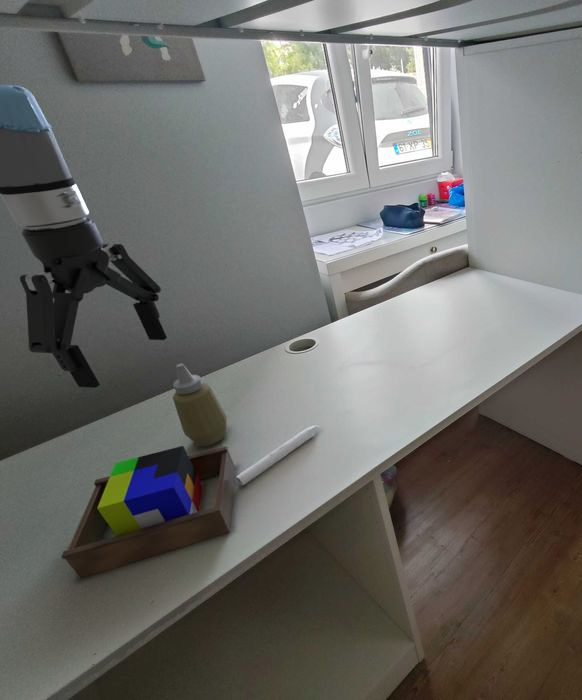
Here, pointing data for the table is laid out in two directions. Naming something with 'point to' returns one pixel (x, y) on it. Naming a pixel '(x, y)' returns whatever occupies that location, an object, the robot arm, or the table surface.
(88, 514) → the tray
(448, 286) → the table surface
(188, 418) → the squeeze bottle
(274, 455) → the marker
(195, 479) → the puzzle toy
